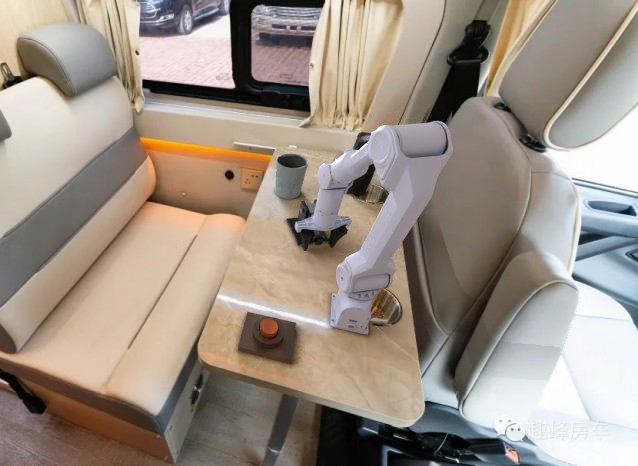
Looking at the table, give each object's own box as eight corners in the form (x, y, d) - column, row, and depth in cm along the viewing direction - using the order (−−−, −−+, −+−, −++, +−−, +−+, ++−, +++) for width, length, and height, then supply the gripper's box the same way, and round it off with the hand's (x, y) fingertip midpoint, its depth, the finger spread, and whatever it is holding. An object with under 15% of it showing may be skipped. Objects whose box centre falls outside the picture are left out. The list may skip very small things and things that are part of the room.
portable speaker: (366, 184, 115) (385, 131, 102) (367, 199, 109) (386, 145, 96) (341, 180, 117) (356, 128, 104) (340, 195, 111) (356, 141, 98)
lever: (323, 246, 90) (327, 242, 87) (312, 247, 90) (316, 244, 87) (313, 206, 94) (316, 202, 91) (303, 207, 94) (306, 203, 91)
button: (278, 325, 70) (279, 320, 69) (275, 340, 67) (276, 335, 66) (261, 321, 71) (262, 316, 70) (258, 336, 68) (259, 331, 67)
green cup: (270, 197, 110) (273, 165, 102) (275, 181, 117) (279, 151, 109) (300, 202, 108) (306, 170, 100) (304, 186, 115) (310, 155, 107)
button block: (295, 326, 73) (297, 317, 71) (290, 364, 67) (292, 355, 64) (247, 315, 76) (247, 306, 73) (237, 350, 69) (238, 342, 67)
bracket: (328, 241, 94) (335, 214, 87) (297, 245, 93) (303, 218, 86) (314, 217, 102) (320, 191, 95) (286, 221, 101) (290, 194, 94)
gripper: (347, 195, 85) (336, 234, 94) (294, 201, 83) (287, 240, 93) (360, 211, 80) (347, 251, 89) (303, 218, 78) (295, 257, 87)
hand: (317, 246), depth 90 cm, fingers open, 7 cm apart
